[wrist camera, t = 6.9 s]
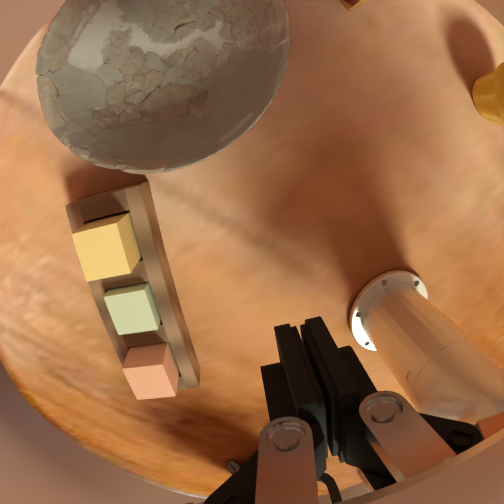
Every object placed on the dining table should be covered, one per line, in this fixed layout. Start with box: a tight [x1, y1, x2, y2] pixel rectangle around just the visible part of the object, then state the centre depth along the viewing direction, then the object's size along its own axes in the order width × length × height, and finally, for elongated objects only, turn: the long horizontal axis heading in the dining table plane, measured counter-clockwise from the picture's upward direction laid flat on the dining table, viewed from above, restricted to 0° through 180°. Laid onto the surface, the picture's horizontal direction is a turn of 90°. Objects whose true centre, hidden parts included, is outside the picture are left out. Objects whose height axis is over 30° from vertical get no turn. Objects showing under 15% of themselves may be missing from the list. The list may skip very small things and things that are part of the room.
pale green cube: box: [104, 281, 161, 335], centre depth 36 cm, size 5×5×5 cm
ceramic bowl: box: [36, 0, 291, 175], centre depth 26 cm, size 22×23×10 cm
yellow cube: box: [72, 212, 142, 282], centre depth 31 cm, size 5×5×5 cm
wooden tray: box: [65, 181, 200, 390], centre depth 37 cm, size 26×9×4 cm, turn 10°
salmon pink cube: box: [122, 342, 179, 400], centre depth 36 cm, size 5×5×5 cm
